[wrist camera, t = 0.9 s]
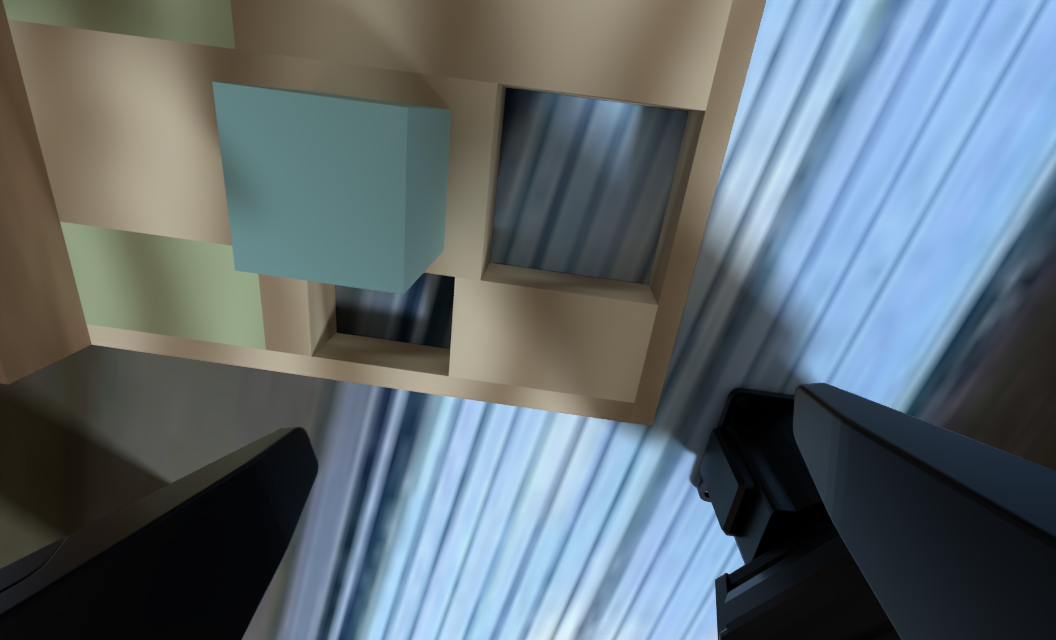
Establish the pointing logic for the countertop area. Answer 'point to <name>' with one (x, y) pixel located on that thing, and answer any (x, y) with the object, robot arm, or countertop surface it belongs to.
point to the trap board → (358, 71)
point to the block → (333, 185)
